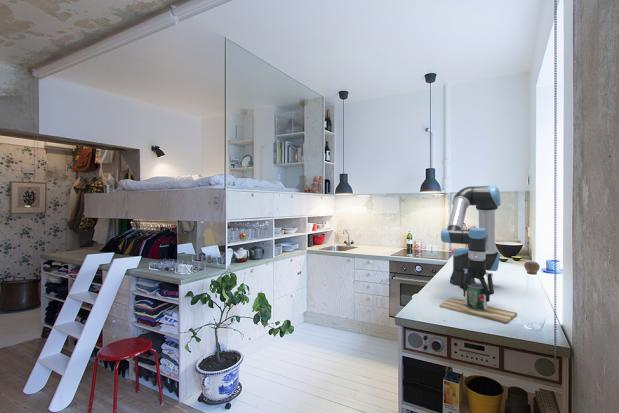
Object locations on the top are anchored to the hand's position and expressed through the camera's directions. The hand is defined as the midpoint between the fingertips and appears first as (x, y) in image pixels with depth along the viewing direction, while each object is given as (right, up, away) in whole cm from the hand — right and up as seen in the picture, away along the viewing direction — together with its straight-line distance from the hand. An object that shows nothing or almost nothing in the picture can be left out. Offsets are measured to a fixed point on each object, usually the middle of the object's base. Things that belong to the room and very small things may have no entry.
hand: (476, 305), depth 156 cm
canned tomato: (0, -1, 0) cm, 1 cm away
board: (0, -3, 0) cm, 3 cm away
